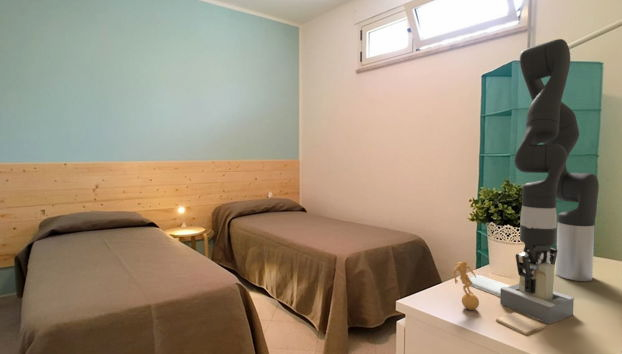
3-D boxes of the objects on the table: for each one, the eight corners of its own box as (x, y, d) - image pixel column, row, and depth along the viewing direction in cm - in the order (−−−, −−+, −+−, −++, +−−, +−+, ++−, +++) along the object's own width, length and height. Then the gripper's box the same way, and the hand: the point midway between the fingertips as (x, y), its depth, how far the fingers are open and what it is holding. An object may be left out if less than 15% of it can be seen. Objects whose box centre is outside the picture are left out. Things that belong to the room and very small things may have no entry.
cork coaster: (514, 314, 82) (514, 312, 82) (545, 327, 76) (545, 324, 76) (496, 321, 79) (496, 318, 79) (526, 335, 73) (526, 332, 73)
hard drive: (461, 278, 104) (500, 292, 93) (478, 274, 107) (518, 287, 96) (461, 284, 104) (500, 298, 93) (478, 279, 108) (517, 292, 97)
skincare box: (517, 306, 87) (518, 260, 86) (527, 302, 89) (528, 257, 88) (543, 316, 81) (545, 267, 81) (553, 312, 84) (555, 264, 83)
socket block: (523, 296, 93) (524, 281, 93) (573, 314, 82) (573, 297, 82) (500, 303, 88) (500, 287, 88) (549, 323, 78) (549, 306, 77)
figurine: (467, 316, 82) (468, 268, 81) (446, 307, 87) (446, 261, 86) (487, 308, 86) (488, 262, 85) (465, 299, 91) (466, 256, 90)
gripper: (539, 219, 90) (537, 281, 91) (505, 224, 84) (503, 290, 85) (570, 224, 84) (568, 290, 85) (536, 230, 77) (534, 302, 78)
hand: (535, 290), depth 85 cm, fingers closed on skincare box, 4 cm apart
